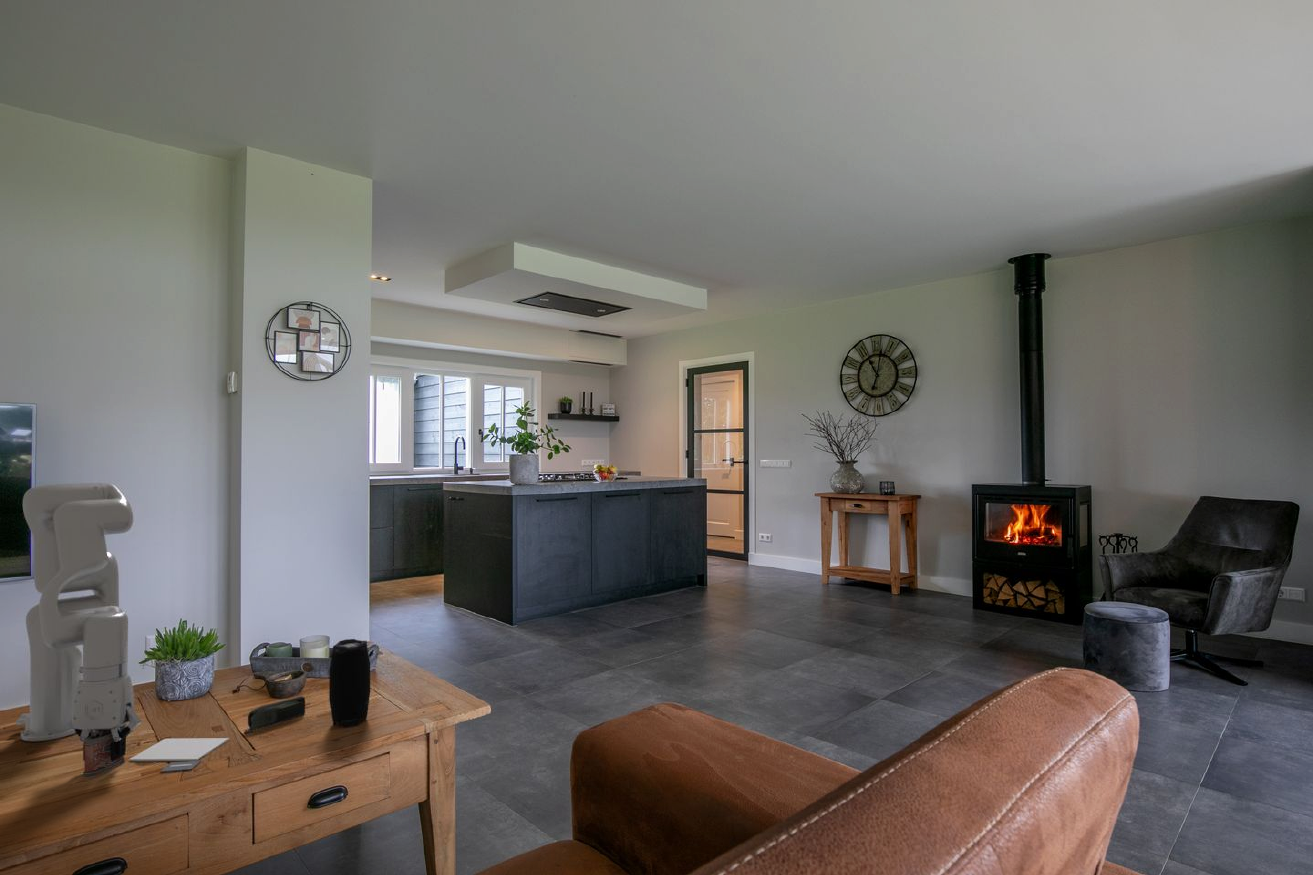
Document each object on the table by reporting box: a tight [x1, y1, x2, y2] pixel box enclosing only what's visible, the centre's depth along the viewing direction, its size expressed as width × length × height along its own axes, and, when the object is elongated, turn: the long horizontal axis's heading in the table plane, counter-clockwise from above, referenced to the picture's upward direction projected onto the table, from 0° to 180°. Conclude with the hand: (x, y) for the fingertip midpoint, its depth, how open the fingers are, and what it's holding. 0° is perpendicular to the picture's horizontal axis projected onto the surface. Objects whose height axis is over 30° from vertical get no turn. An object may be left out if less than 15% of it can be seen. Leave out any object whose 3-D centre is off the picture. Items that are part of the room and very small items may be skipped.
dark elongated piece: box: [244, 696, 306, 734], centre depth 171 cm, size 5×3×15 cm
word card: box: [159, 760, 202, 774], centre depth 147 cm, size 6×4×1 cm, turn 100°
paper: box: [128, 737, 230, 762], centre depth 155 cm, size 15×11×1 cm
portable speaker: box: [328, 638, 371, 729], centre depth 171 cm, size 9×9×20 cm
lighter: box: [82, 727, 126, 779], centre depth 146 cm, size 8×3×10 cm, turn 168°
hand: (104, 756), depth 146 cm, fingers open, 5 cm apart
